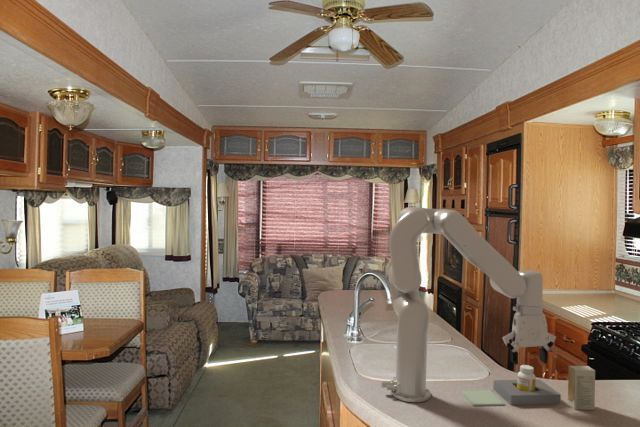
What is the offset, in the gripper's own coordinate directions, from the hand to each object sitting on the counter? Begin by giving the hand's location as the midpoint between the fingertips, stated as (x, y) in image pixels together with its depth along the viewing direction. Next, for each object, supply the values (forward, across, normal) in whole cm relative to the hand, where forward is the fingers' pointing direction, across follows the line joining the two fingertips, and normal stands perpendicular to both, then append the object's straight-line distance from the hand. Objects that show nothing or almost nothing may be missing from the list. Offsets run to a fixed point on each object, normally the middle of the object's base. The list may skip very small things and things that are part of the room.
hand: (528, 362), depth 153 cm
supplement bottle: (+11, -1, 0) cm, 11 cm away
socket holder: (+11, -1, 0) cm, 11 cm away
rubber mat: (+11, -16, -1) cm, 19 cm away
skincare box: (+12, +12, -8) cm, 19 cm away
